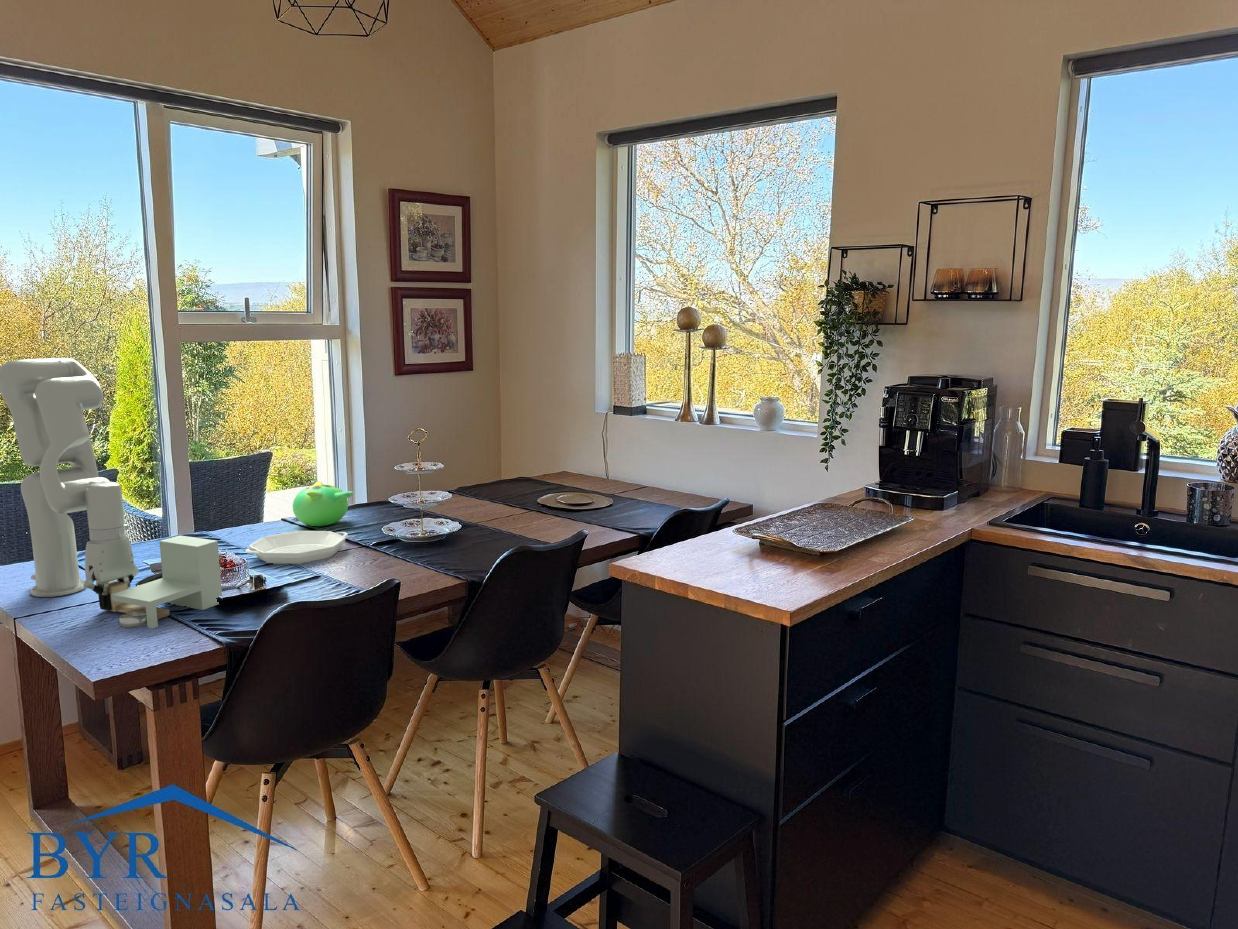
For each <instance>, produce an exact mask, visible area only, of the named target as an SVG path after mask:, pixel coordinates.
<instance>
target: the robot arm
mask: <svg viewBox="0 0 1238 929" xmlns="http://www.w3.org/2000/svg"><path fill="white" fill-rule="evenodd" d="M0 395H1V397H2V399H3V400H4V402H5V404H6V406H7V407H8V410H9V411H10V414H11V416H12V421H13V425H14V431H15V435H16V440H17V445H18V450H19V453H20V458H21V459H22V461H23V462H24V463H25V465H28V466H30V467H39V471H36V472H33V473H31V474H28V475H27V476H25V477H24V478H23V480H22V481H21V484H20V492H21V496H22V499H23V503H24V505H25V508H26V512H27V517H28V522H29V523H28V524H29V529H30V530H29V531H30V538H31V539H30V540H31V547H32V554H33V563H34V571H35V573H34V574H32V575H31V576H30V579H31V580H33V581H35V585H33V586H32V587H31V588H30V589H29V592H30V595H31V596H34V597H39V598H51V597H53V598H54V597H59V596H60V597H61V596H66V595H67V596H68V595H71V594H75V593H78V592H81V591H82V590H84V589H88V590H91V591H93V593H94V592H95V594H97V595H98V604H99V607H100V608H101V609H100V608H99V609H100V610H103V611H109V610H111V609H112V607H111V598H110V594H108V584H109V582H110V581H118V582H124V583H127V584H128V589H129V588H131V584H132V583H133V580H134V578H135V577H136V576H137V575H138V574H139V572H140V570H139V568H138V567H137V566H136V565H135V560H134V553H133V548H132V544H131V542H130V538H129V535H126V530H129V528H130V526H129V525H128V524H125V513H124V501H123V492H122V487H121V485H120V484H119V482H115V481H110V480H109V479H108V478H106V477H102V476H99V471H98V466H97V460H96V457H95V453H94V447H93V444H92V441H91V440H92V439H91V437H90V436H91V435H90V431H89V428H88V425H87V423H86V420H85V416H84V413H83V411H86V410H95V409H98V408H100V407H101V406H102V404H103V402H104V393H103V389H102V387H101V385H100V383H99V381H98V380H97V379H96V378H95V376H94V375H93V374H92V373H91V372H90V371H89V370H87V369H86V367H84V366H83V365H82V364H81V363H79V361H77V360H76V359H73V358H70V357H54V358H52V357H51V358H26V359H17V360H10V361H7V362H5V363H4V364H3V363H2V365H1V366H0ZM68 463H69V464H70V467H65V468H58V465H59V464H68ZM81 511H86V514H87V524H88V533H89V534H88V535H89V541H86V545H85V551H84V552H85V553H84V572H85V579H82V578H80V570H79V562H78V560H79V559H78V552H77V550H78V549H77V542H76V541H77V540H76V533H75V525H74V520H73V519H72V517H70V515H68V514H70V513H74V512H75V513H77V512H81ZM94 582H95V584H94ZM109 612H110V611H109Z"/></svg>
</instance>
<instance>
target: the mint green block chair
mask: <svg viewBox="0 0 1238 929" xmlns="http://www.w3.org/2000/svg"><path fill="white" fill-rule="evenodd" d="M161 578H163V576H162V572H159V573H156V574H153V575H148V576H147V577H145V578H143V579H141V580H139V581H138V582H137V583H136V584H134V585H136V586H137V585H142V584H145V583H148V582H152V581H155V580H158V579H161Z"/></svg>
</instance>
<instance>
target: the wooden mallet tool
mask: <svg viewBox="0 0 1238 929" xmlns="http://www.w3.org/2000/svg"><path fill="white" fill-rule="evenodd" d="M126 589H129V588H128V584H127V583H124V582H118V581H117V580H113V581H109V584H108V594H110V598H111V594H113V593H117V592H120V591H123V590H126ZM111 607H112V609H111V610H109V612H113V613H114V612H115V613H116V612H119V613H120V612H121V613H124V614H126V613H130V612H138V611H143V612H146V607H143V606H138V605H132V604H127V603H122V602H117V601H112V600H111ZM99 609H100V610H102V609H101V608H99ZM156 611H157V620H160V619H163V618H166V617H168V616H170V609H168V608H163V607H159V606H156Z"/></svg>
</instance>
